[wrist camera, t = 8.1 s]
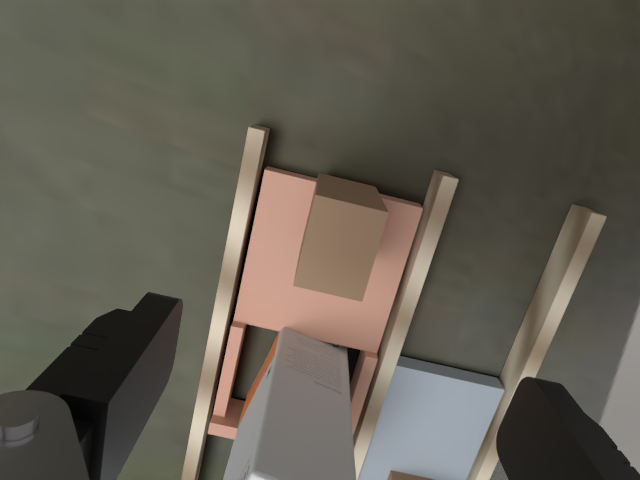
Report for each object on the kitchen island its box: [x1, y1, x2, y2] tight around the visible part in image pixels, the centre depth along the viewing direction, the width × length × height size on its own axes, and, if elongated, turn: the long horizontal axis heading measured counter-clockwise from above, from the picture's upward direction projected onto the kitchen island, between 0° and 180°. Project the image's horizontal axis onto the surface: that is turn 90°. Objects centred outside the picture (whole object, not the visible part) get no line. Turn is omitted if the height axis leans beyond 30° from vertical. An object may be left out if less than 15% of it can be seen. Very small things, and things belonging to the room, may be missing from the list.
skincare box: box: [223, 327, 356, 480], centre depth 22 cm, size 6×4×12 cm
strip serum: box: [208, 166, 423, 439], centre depth 24 cm, size 16×8×7 cm, turn 166°
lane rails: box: [181, 125, 607, 480], centre depth 28 cm, size 28×18×2 cm, turn 166°
